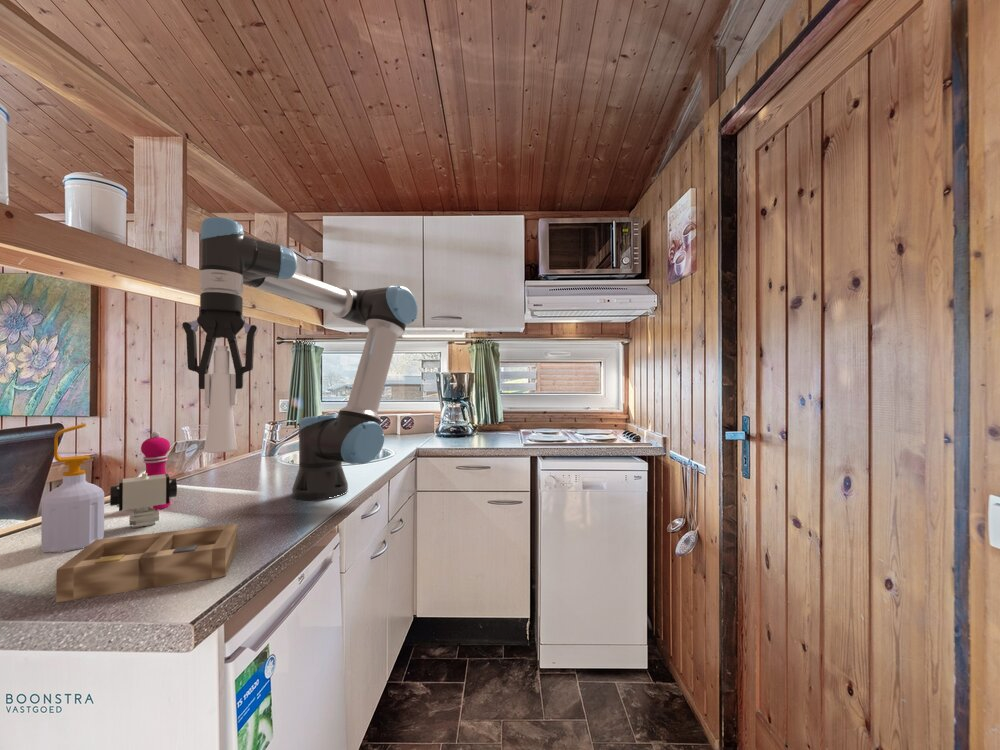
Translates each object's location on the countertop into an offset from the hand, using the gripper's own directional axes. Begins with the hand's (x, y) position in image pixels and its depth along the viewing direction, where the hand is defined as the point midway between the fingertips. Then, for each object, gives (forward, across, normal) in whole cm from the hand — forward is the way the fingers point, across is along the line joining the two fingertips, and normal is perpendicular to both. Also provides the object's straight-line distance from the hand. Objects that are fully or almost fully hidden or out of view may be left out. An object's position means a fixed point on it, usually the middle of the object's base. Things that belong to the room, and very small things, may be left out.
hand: (221, 404), depth 91 cm
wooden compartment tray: (+29, -7, -13) cm, 32 cm away
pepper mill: (+29, -20, +33) cm, 48 cm away
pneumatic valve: (+29, -18, +18) cm, 38 cm away
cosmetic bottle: (+10, 0, 0) cm, 10 cm away
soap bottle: (+29, -27, +9) cm, 40 cm away
